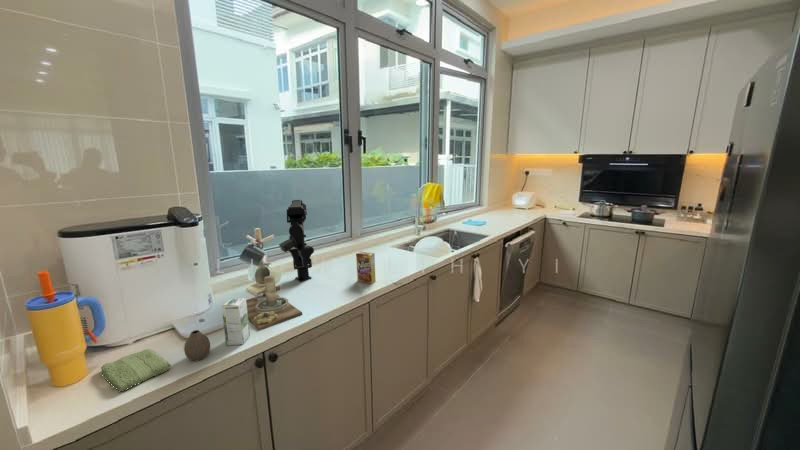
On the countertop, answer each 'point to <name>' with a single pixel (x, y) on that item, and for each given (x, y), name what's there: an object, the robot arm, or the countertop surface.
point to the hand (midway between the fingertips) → (300, 265)
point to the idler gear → (271, 294)
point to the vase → (197, 346)
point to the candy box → (365, 267)
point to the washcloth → (134, 369)
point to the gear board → (269, 312)
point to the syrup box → (235, 321)
